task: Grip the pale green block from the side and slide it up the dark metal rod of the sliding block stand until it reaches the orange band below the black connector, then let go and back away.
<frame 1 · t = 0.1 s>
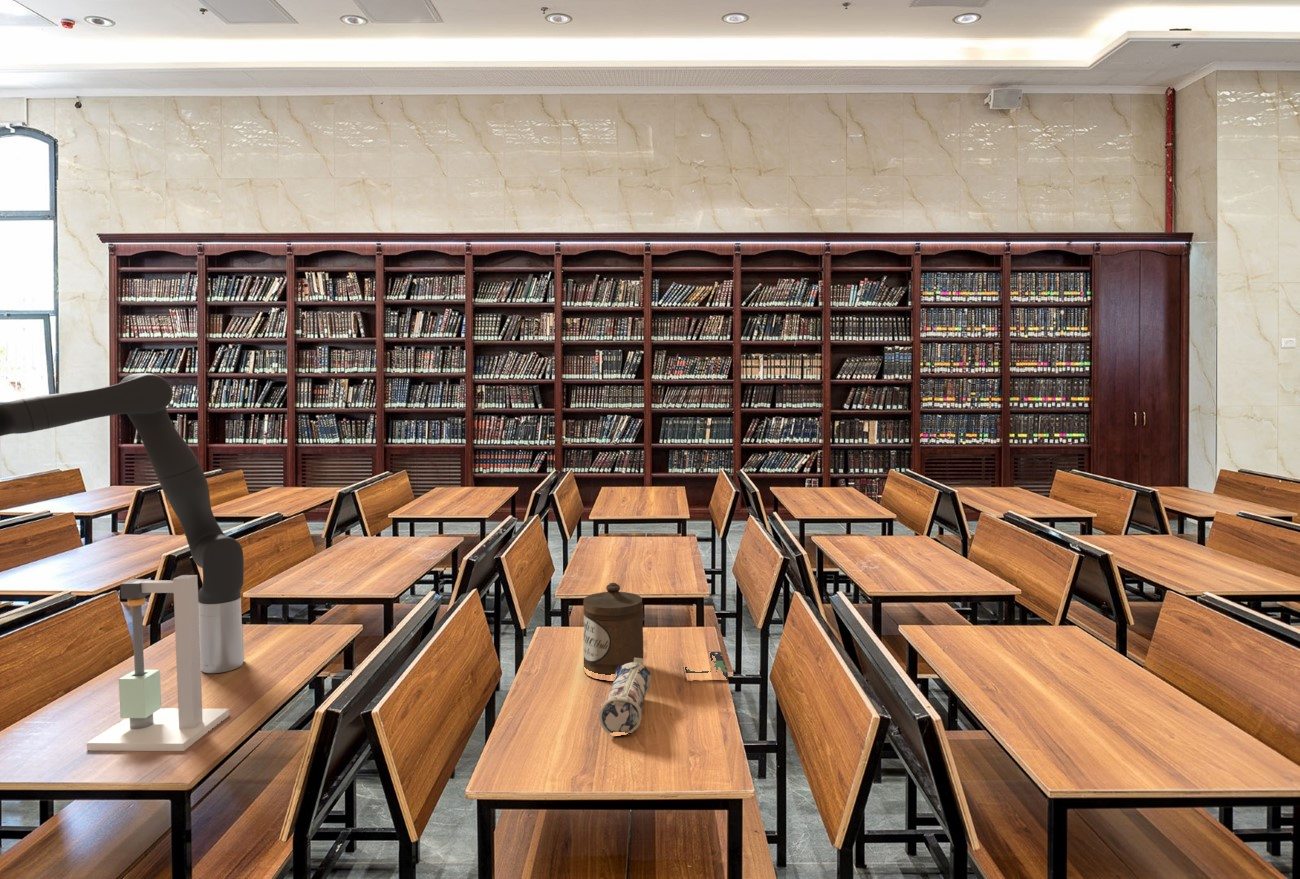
sliding block stand: (142, 732, 156), on the table
disk drive: (704, 672, 191), on the table
ink cartridge: (343, 709, 167), on the table
walkie-talkie: (370, 683, 183), on the table
pencil case: (626, 719, 163), on the table
pale green block: (140, 693, 155), point 8 cm above the table, slide at 0.0 cm
wooden container: (613, 671, 190), on the table
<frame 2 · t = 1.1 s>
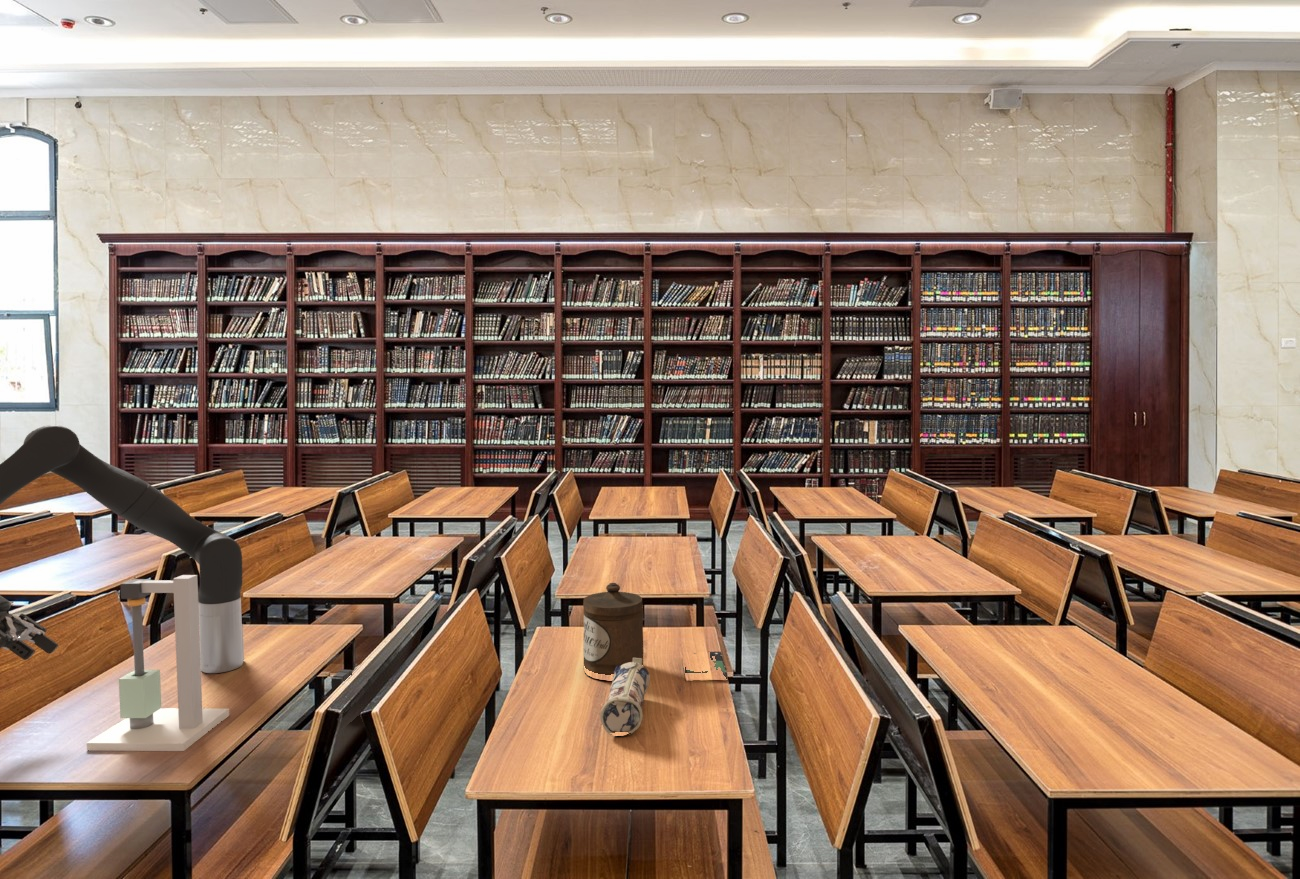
hand: (43, 652, 153), 17 cm above the table, tool tilted 50°, fingers open, 8 cm apart
nothing on the table moved.
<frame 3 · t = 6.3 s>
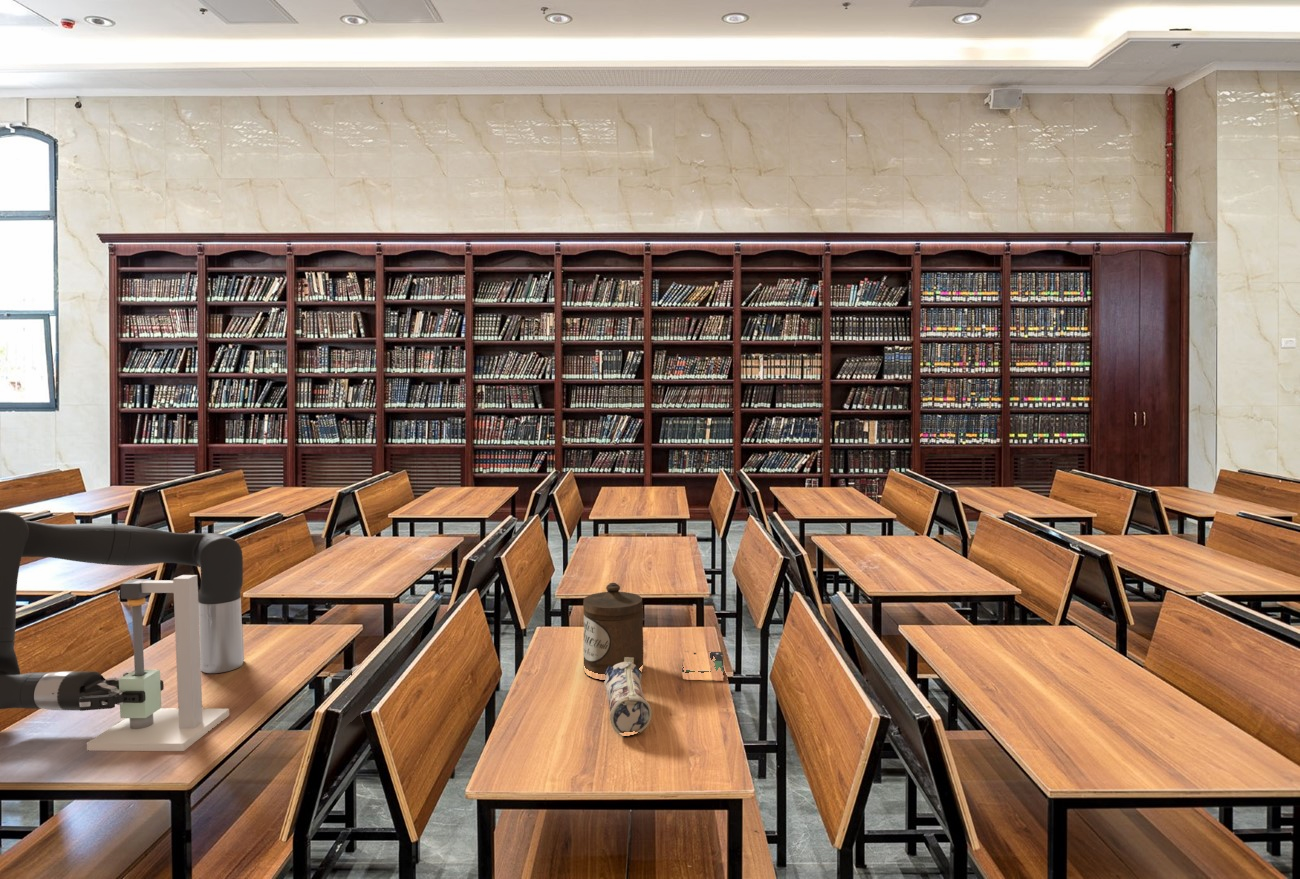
hand: (153, 691, 155), 8 cm above the table, tool horizontal, fingers closed on pale green block, 5 cm apart
pale green block: (140, 693, 155), point 8 cm above the table, slide at 0.0 cm, touching gripper
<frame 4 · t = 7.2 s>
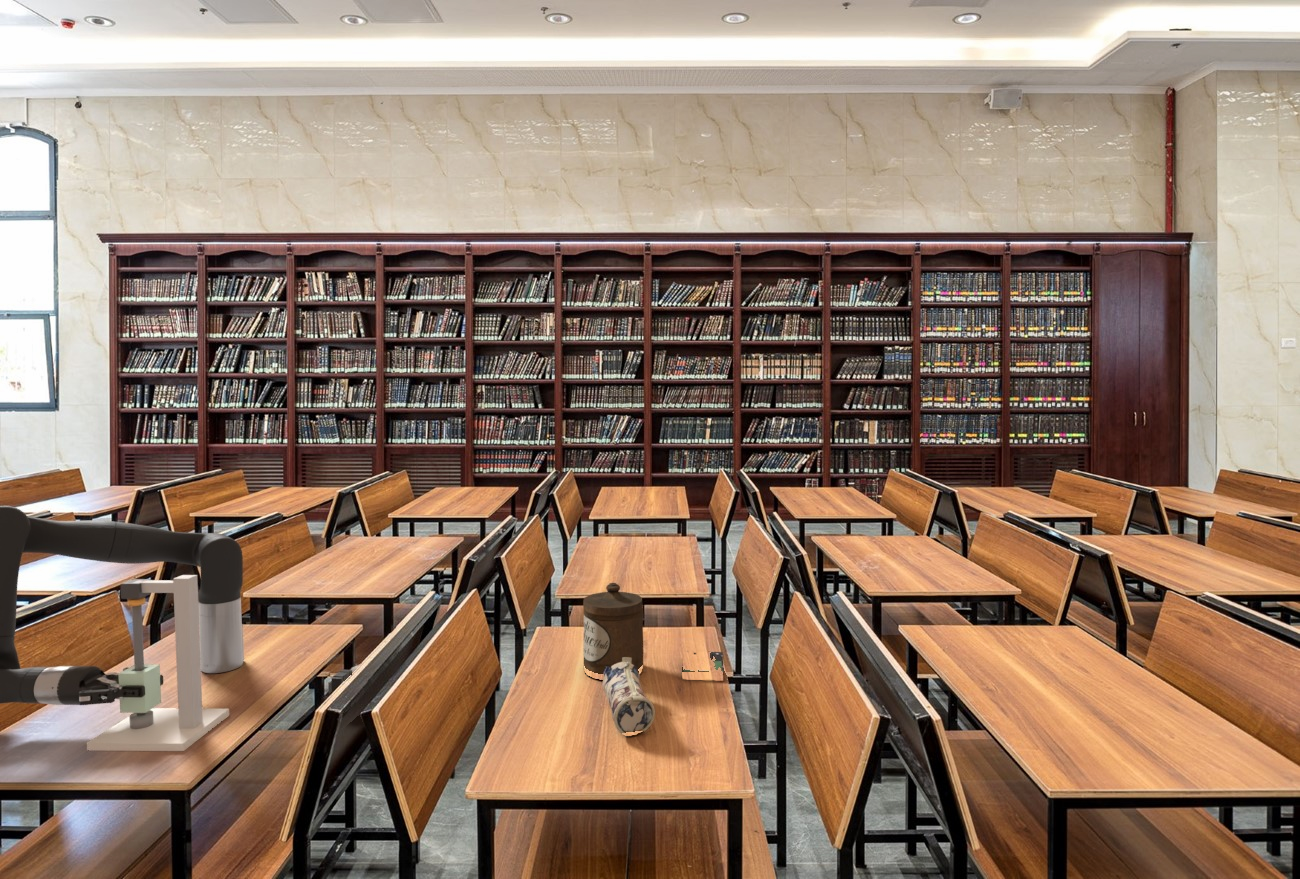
hand: (152, 685, 155), 10 cm above the table, tool horizontal, fingers closed on pale green block, 5 cm apart
pale green block: (140, 688, 155), point 9 cm above the table, slide at 1.1 cm, touching gripper
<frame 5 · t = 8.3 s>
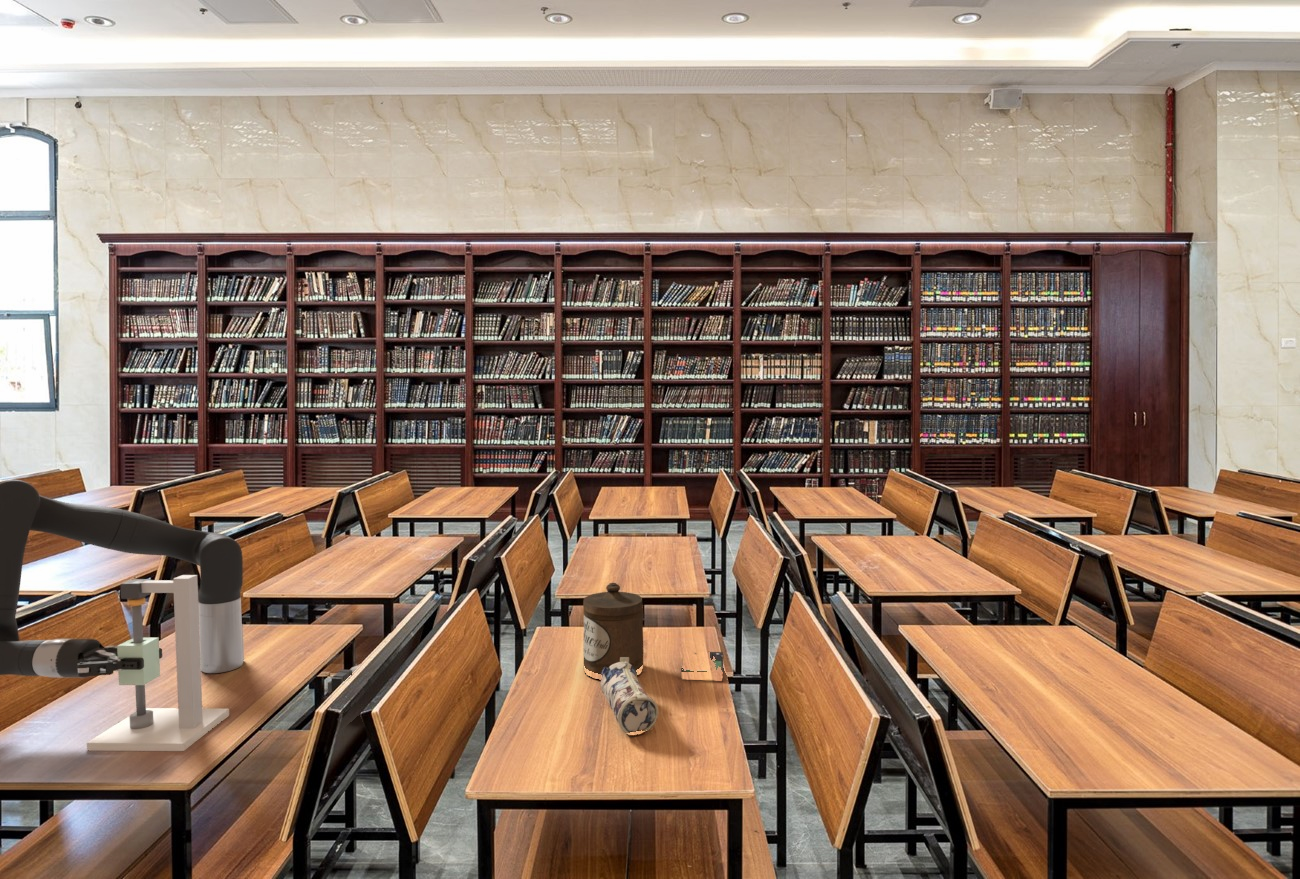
hand: (151, 658, 155), 15 cm above the table, tool horizontal, fingers closed on pale green block, 5 cm apart
pale green block: (139, 660, 155), point 15 cm above the table, slide at 6.7 cm, touching gripper
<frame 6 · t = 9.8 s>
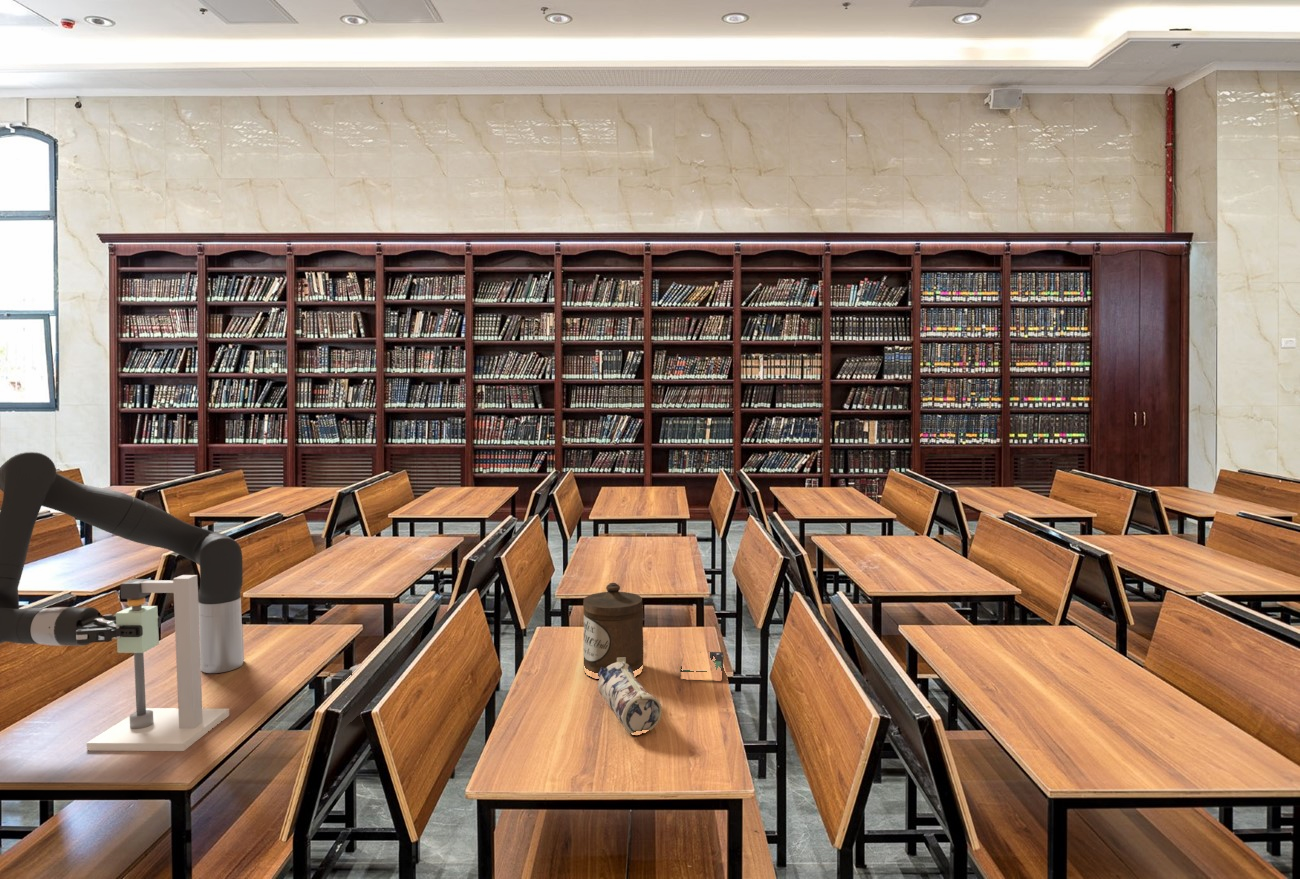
hand: (150, 626, 154), 22 cm above the table, tool horizontal, fingers closed on pale green block, 5 cm apart
pale green block: (137, 629, 154), point 21 cm above the table, slide at 13.3 cm, touching gripper
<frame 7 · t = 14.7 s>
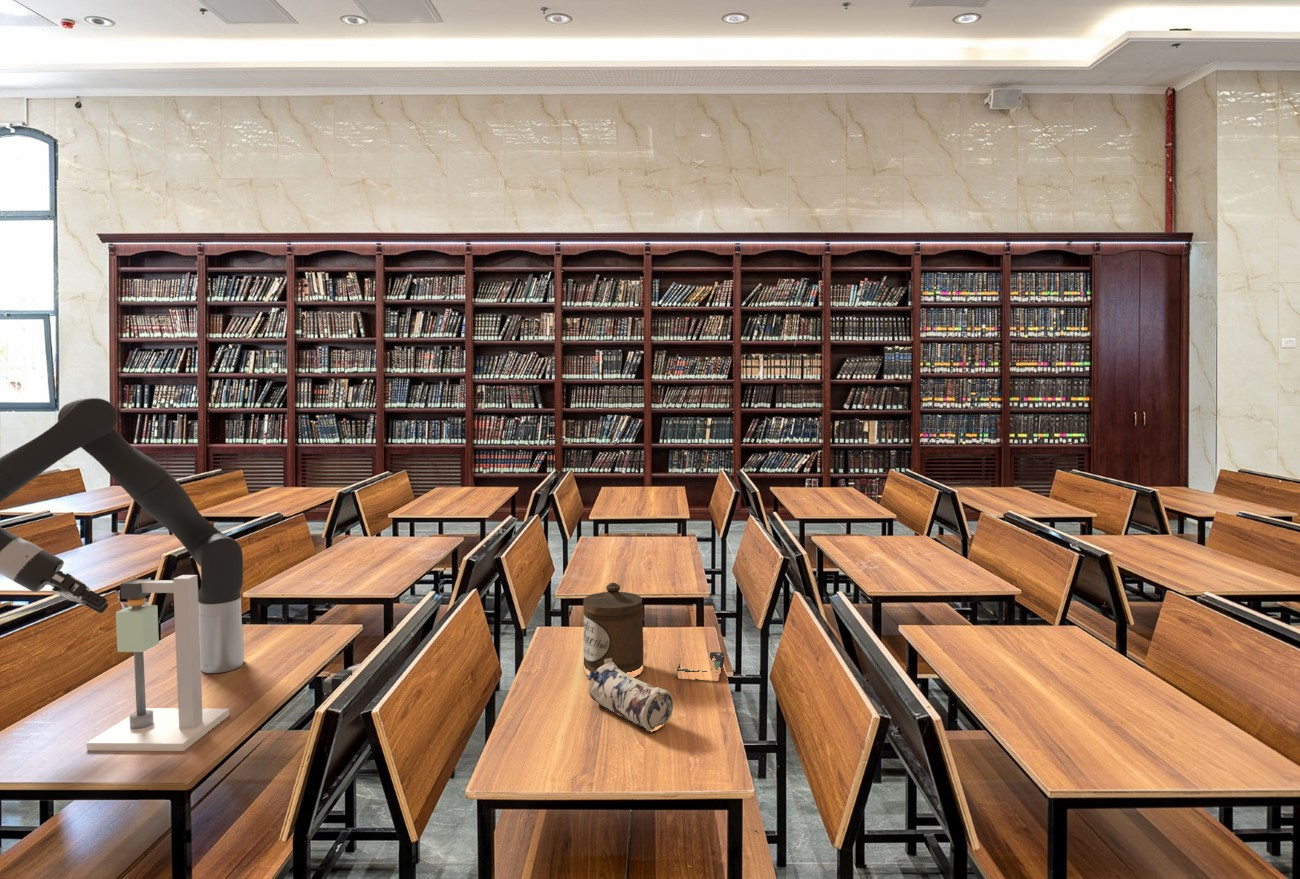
hand: (104, 607, 159), 24 cm above the table, tool tilted 50°, fingers open, 8 cm apart
pale green block: (137, 628, 154), point 21 cm above the table, slide at 13.5 cm
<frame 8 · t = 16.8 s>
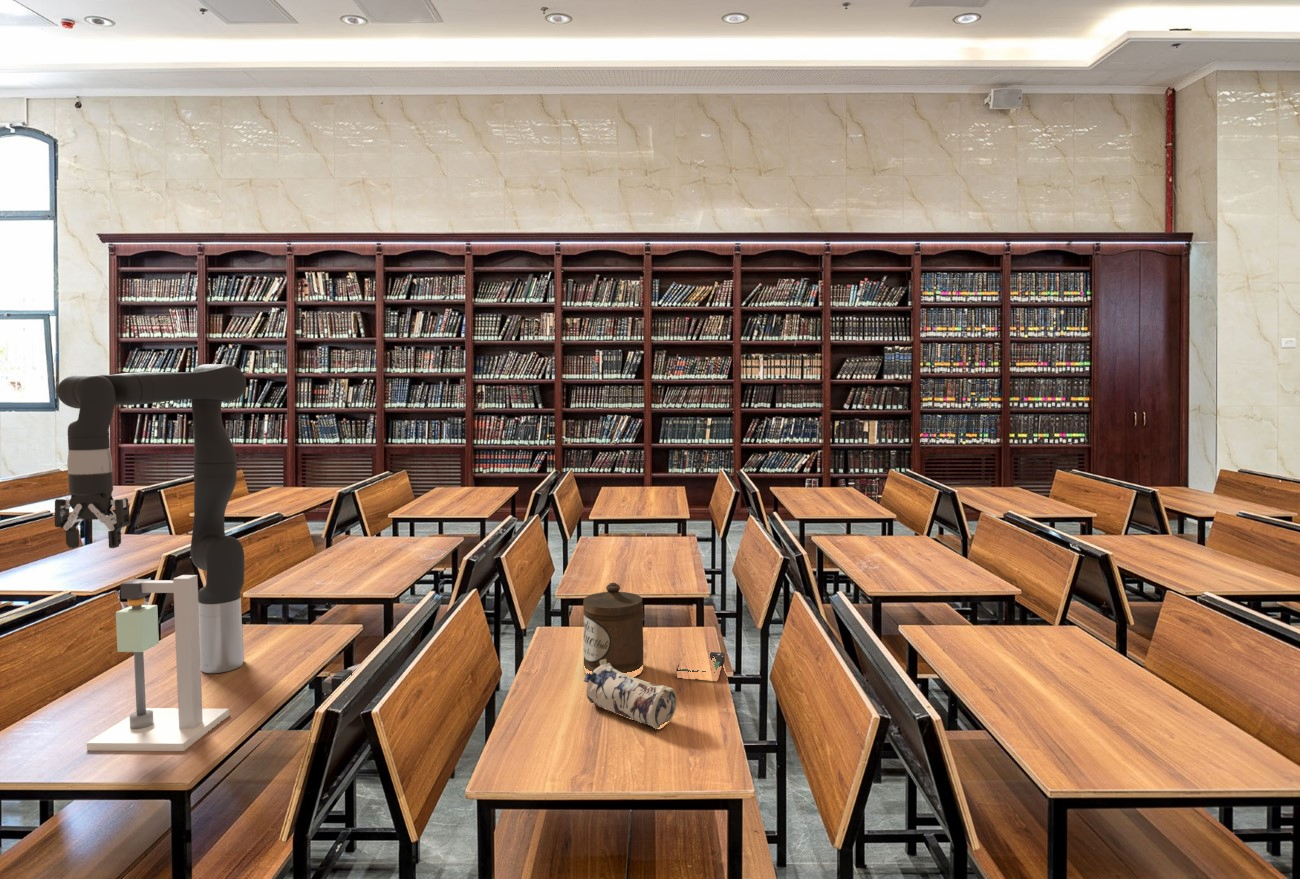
hand: (93, 547, 161), 36 cm above the table, tool pointing down, fingers open, 8 cm apart
at the end: pale green block slide at 13.5 cm; the gripper is holding nothing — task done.
